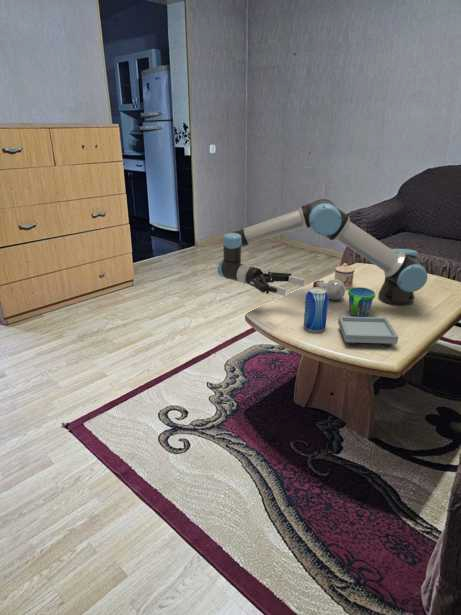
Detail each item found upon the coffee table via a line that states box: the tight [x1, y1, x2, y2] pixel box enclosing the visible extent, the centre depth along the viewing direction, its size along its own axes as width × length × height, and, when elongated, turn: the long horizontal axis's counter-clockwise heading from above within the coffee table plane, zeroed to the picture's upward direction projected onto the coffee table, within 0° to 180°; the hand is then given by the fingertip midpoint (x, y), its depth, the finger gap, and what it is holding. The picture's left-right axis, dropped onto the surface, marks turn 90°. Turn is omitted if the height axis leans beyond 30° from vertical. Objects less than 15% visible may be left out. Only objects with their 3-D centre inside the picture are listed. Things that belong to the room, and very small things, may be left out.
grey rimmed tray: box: [337, 315, 399, 348], centre depth 161 cm, size 18×16×5 cm
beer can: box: [303, 286, 329, 334], centre depth 166 cm, size 8×8×16 cm
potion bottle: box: [312, 279, 346, 301], centre depth 197 cm, size 9×10×15 cm
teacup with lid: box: [333, 262, 355, 291], centre depth 211 cm, size 12×9×12 cm
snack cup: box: [347, 287, 376, 317], centre depth 180 cm, size 16×10×10 cm
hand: (294, 287), depth 169 cm, fingers open, 13 cm apart
